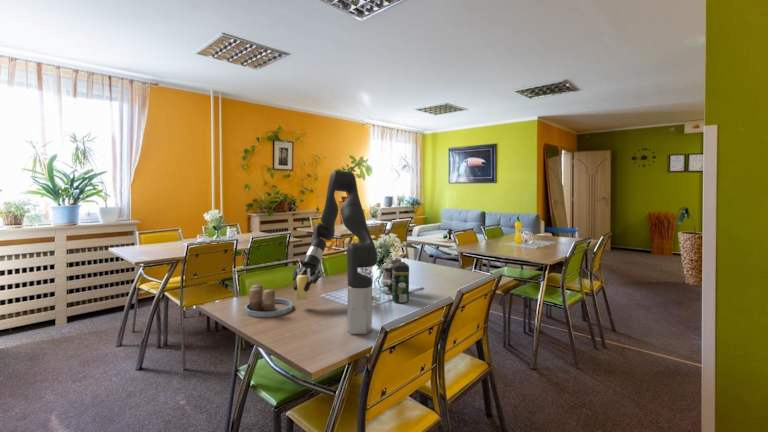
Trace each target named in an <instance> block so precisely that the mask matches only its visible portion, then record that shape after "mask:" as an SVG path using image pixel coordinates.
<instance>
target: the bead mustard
mask: <svg viewBox="0 0 768 432" xmlns="http://www.w3.org/2000/svg"><path fill="white" fill-rule="evenodd" d="M298 275H299V274H298ZM298 275H297V291H296V299H297V300H299V301H304V300H305V301H306V300H307V299H309V298H308V294H309V293H308V291H309V290H308V291H307V292H305V291H304V288H305V285H306V283H307V282H308V277H307V275H299V276H298Z"/></svg>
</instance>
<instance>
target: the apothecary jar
mask: <svg viewBox="0 0 768 432" xmlns="http://www.w3.org/2000/svg"><path fill="white" fill-rule="evenodd" d="M396 262H402V259H401V257H397V258H396V259H395V260H390V259H387V261H386V263H384V264H383V265H382V264H381V265H382V267H381V268H382V269H383V275H382V278H381V280H380V283H381V285H382V286H383V287H384V288H386V289H387V290H386V289H385V290H386V291H385V292H384V293H385V294H384V293H383V294H384V295H387V294H392V274H393V264H394V263H396Z"/></svg>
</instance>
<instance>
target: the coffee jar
mask: <svg viewBox="0 0 768 432" xmlns="http://www.w3.org/2000/svg"><path fill="white" fill-rule="evenodd" d="M409 290H410V265H409V264H408V263H406V262H405V261H401V262H396V263H394V264H393V274H392V295H391V297H392V299H391V300H392V301H393V302H394V303H397V304H406V303H408V302H409V301H410V294H409V293H410V291H409Z"/></svg>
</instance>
